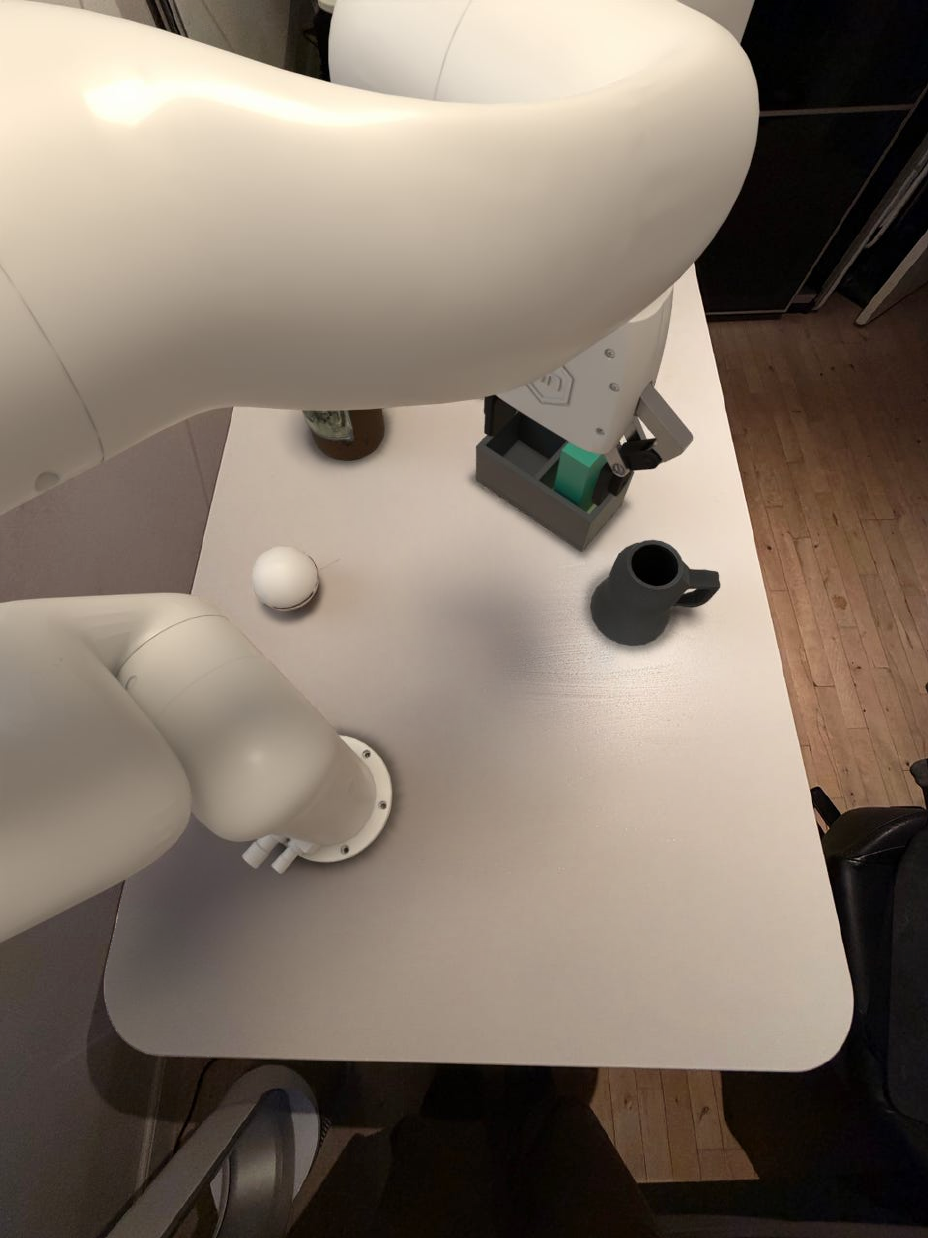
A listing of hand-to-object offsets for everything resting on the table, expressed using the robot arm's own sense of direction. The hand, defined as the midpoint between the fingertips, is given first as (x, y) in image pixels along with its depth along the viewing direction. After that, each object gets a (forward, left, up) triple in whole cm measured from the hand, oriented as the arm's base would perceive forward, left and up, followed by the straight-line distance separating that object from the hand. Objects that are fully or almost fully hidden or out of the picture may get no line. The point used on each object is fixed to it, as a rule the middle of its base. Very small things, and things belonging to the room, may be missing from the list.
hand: (551, 457), depth 47 cm
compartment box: (+15, +7, -29) cm, 33 cm away
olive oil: (+6, +33, -29) cm, 44 cm away
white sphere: (-14, +21, -29) cm, 39 cm away
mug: (+9, -11, -29) cm, 32 cm away
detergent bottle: (+15, +4, -28) cm, 31 cm away
